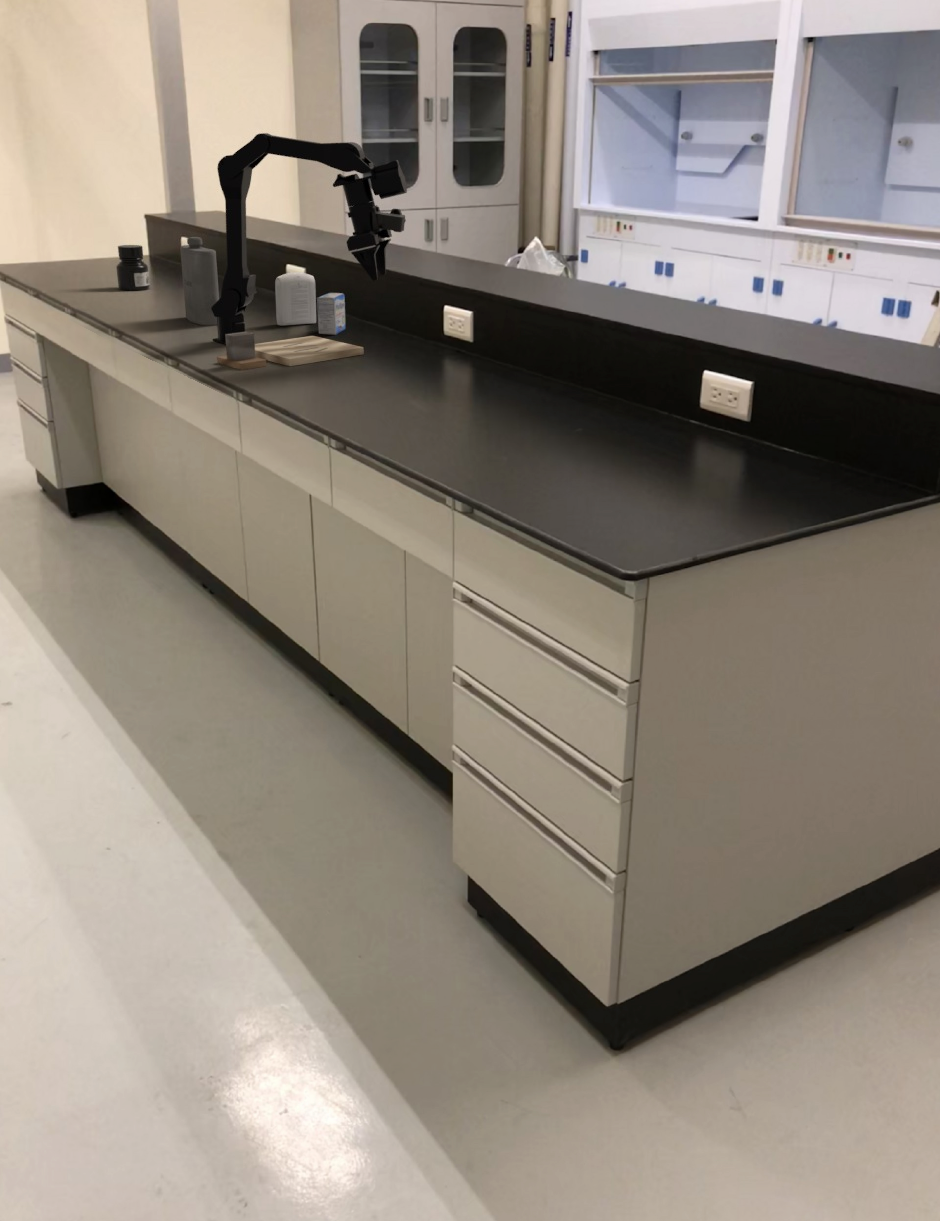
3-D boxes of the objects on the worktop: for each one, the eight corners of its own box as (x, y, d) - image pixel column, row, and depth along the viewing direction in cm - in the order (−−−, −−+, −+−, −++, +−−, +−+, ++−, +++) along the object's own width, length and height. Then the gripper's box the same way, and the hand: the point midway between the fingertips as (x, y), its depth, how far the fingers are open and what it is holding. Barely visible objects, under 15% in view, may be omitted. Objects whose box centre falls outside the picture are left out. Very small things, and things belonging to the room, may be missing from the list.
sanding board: (240, 353, 243) (239, 346, 242) (313, 342, 256) (312, 335, 255) (290, 366, 231) (289, 358, 231) (363, 354, 245) (363, 347, 244)
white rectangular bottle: (311, 320, 282) (309, 270, 277) (319, 323, 279) (317, 272, 274) (274, 324, 277) (271, 272, 272) (281, 326, 274) (278, 274, 269)
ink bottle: (144, 291, 322) (140, 248, 317) (114, 290, 322) (109, 247, 317) (153, 286, 331) (149, 244, 326) (124, 286, 331) (119, 243, 326)
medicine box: (335, 335, 265) (334, 297, 262) (318, 334, 266) (316, 296, 262) (345, 329, 272) (345, 293, 269) (328, 328, 273) (327, 292, 269)
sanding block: (217, 363, 233) (215, 332, 231) (241, 360, 237) (239, 329, 235) (242, 370, 228) (239, 338, 225) (266, 366, 232) (264, 335, 229)
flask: (180, 317, 283) (173, 234, 275) (202, 315, 286) (196, 234, 278) (200, 326, 272) (194, 240, 264) (223, 324, 275) (217, 239, 266)
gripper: (388, 198, 229) (407, 275, 235) (404, 192, 246) (421, 264, 252) (337, 210, 232) (357, 286, 237) (357, 204, 249) (374, 274, 254)
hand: (379, 277), depth 245 cm, fingers open, 9 cm apart
